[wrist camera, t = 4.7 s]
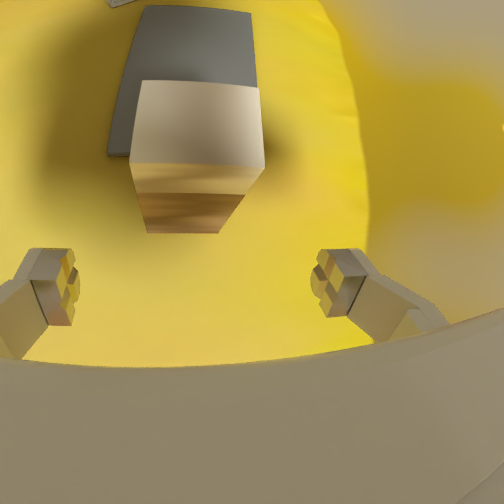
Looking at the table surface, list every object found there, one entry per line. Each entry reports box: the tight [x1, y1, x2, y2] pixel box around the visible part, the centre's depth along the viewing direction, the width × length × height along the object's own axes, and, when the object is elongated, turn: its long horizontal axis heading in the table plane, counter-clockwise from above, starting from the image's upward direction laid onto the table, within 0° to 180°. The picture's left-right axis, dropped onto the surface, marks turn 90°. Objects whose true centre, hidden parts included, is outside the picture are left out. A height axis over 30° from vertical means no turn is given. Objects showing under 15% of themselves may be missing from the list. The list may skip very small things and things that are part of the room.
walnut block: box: [129, 80, 265, 233], centre depth 16 cm, size 5×4×11 cm
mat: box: [107, 5, 257, 156], centre depth 23 cm, size 12×20×1 cm, turn 3°
